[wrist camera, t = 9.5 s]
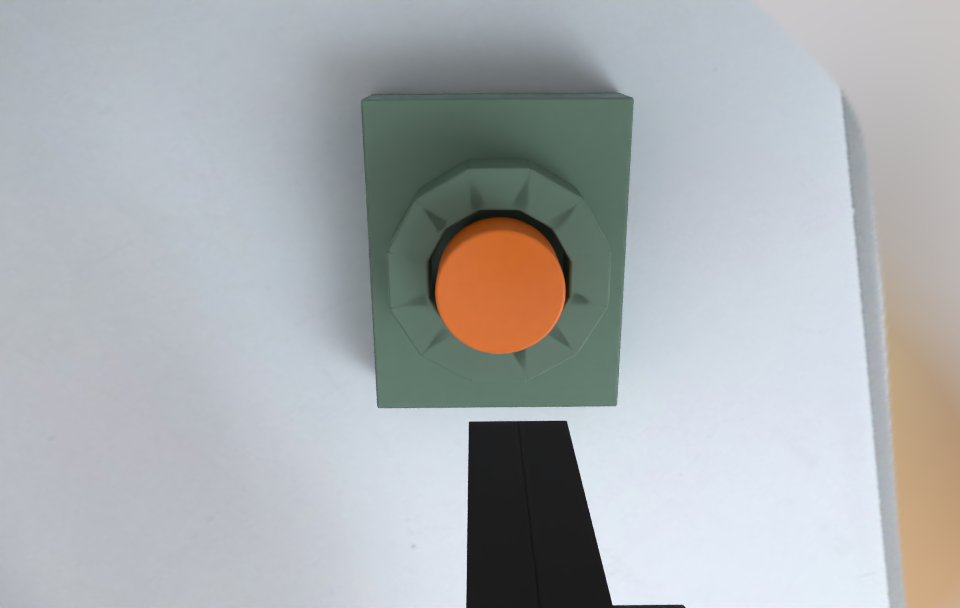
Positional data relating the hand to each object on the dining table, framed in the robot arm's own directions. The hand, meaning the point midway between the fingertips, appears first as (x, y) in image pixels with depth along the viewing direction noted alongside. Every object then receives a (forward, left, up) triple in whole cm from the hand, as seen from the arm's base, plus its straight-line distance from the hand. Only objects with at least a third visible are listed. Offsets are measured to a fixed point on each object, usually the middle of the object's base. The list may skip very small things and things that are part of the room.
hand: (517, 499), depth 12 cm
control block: (0, 0, -15) cm, 15 cm away
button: (0, 0, -12) cm, 12 cm away
